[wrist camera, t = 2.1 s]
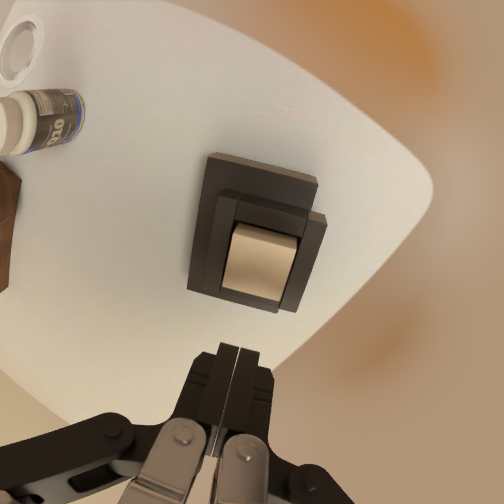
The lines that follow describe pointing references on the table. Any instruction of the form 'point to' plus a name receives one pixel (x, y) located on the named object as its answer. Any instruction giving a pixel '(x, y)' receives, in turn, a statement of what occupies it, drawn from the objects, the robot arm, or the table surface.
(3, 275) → the brown flat piece
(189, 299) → the table surface
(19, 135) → the pill bottle
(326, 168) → the table surface
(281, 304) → the key box
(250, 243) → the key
